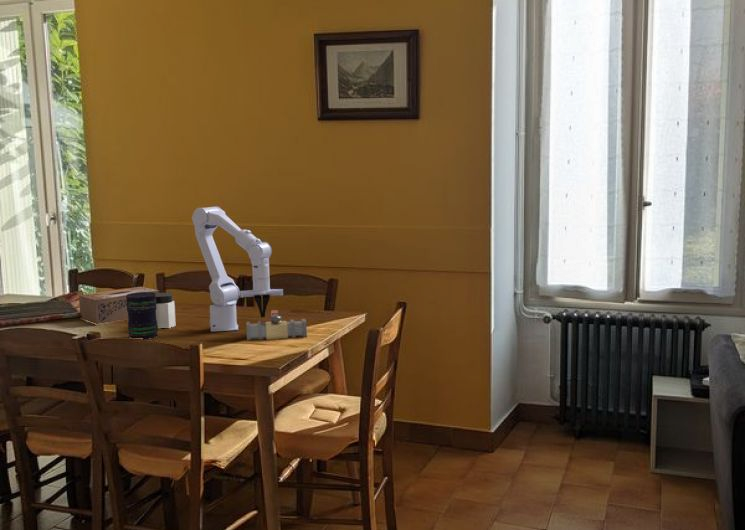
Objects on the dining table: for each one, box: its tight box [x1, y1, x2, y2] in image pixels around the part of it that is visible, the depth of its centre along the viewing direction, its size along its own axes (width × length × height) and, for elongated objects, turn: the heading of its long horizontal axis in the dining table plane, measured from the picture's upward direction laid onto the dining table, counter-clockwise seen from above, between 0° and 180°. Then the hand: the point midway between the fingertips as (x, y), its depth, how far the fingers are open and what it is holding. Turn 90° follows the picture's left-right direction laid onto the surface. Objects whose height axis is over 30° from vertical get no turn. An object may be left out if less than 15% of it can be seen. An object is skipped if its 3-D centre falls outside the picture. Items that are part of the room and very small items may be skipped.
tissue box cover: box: [78, 286, 160, 324], centre depth 287 cm, size 26×14×10 cm, turn 135°
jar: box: [155, 292, 176, 329], centre depth 268 cm, size 9×8×12 cm
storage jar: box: [126, 292, 159, 339], centre depth 253 cm, size 10×10×15 cm
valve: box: [245, 318, 308, 341], centre depth 250 cm, size 20×6×5 cm, turn 100°
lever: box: [270, 309, 283, 323], centre depth 254 cm, size 13×4×2 cm, turn 10°
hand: (262, 316), depth 256 cm, fingers closed
